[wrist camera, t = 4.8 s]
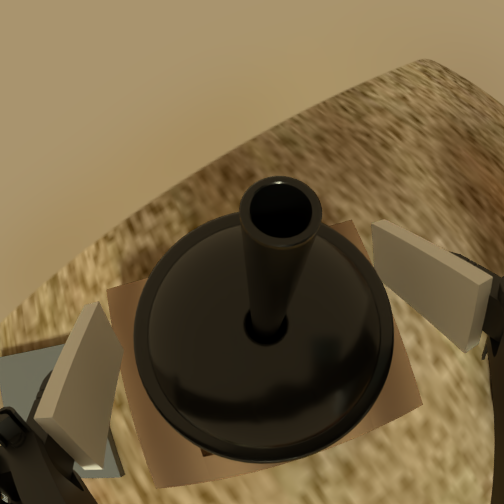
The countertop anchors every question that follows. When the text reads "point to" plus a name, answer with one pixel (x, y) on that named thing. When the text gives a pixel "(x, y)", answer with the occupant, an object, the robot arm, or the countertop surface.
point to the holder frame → (207, 464)
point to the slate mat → (25, 391)
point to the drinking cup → (264, 330)
